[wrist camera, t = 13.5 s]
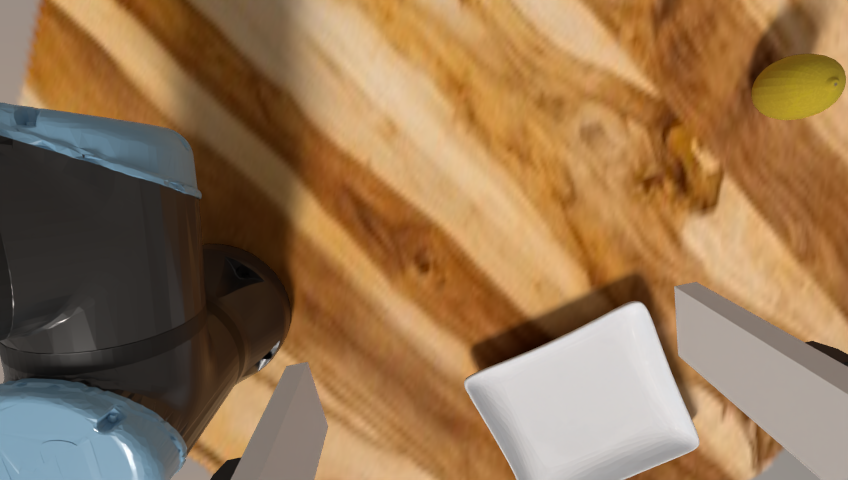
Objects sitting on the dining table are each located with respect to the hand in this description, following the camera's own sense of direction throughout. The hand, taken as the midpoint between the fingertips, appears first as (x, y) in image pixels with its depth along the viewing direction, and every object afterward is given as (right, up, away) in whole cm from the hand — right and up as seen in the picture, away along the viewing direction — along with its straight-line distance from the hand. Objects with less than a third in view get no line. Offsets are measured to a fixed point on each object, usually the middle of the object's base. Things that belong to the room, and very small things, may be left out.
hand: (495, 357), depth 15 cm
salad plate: (+16, -15, +37) cm, 42 cm away
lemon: (+30, +19, +27) cm, 45 cm away
